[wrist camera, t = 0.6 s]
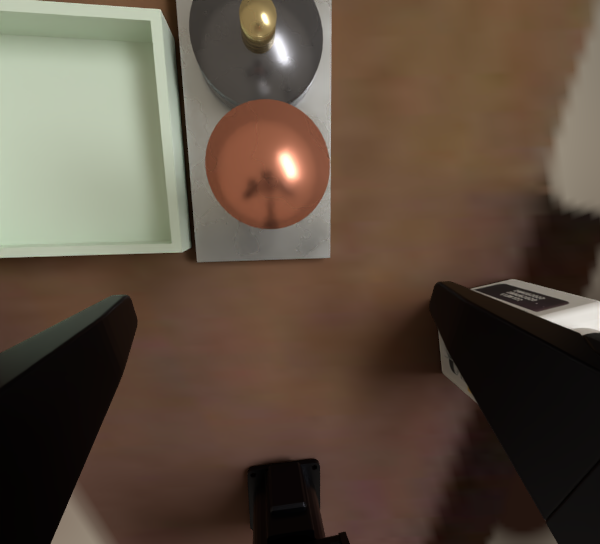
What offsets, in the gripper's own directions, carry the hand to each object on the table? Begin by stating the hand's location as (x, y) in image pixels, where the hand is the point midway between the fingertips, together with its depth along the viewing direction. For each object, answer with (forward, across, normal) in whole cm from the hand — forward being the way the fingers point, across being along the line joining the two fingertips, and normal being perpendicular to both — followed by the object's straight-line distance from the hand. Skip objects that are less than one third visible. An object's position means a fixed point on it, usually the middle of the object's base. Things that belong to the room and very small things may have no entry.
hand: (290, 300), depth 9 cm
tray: (+16, +13, -2) cm, 21 cm away
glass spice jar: (+15, +1, +1) cm, 15 cm away
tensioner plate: (+17, +1, -3) cm, 17 cm away
